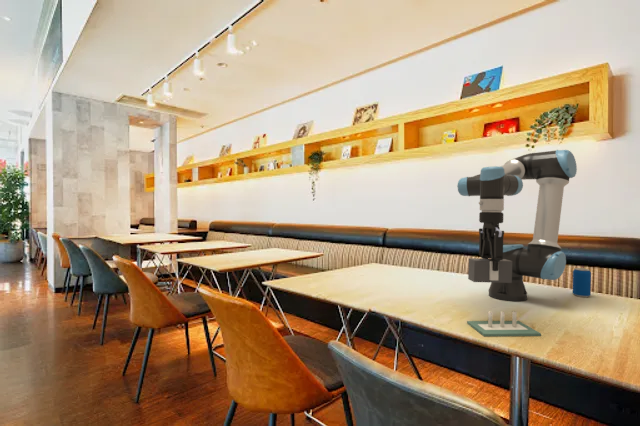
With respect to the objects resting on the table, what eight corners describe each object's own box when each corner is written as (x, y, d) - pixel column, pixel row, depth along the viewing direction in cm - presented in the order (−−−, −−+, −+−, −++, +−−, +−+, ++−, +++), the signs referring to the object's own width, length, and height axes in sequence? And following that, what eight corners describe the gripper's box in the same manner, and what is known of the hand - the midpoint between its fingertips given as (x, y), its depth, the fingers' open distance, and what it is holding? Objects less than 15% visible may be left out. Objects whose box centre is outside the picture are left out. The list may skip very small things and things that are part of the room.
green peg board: (518, 323, 122) (518, 306, 122) (541, 336, 110) (541, 317, 110) (467, 323, 122) (467, 306, 122) (483, 336, 110) (484, 317, 110)
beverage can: (593, 298, 154) (594, 270, 154) (576, 297, 155) (577, 270, 155) (585, 294, 160) (586, 268, 160) (569, 293, 162) (570, 267, 161)
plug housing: (504, 279, 125) (505, 259, 125) (511, 282, 120) (512, 261, 120) (468, 279, 125) (468, 258, 125) (474, 282, 121) (474, 260, 120)
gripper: (469, 211, 131) (468, 273, 132) (492, 211, 113) (491, 284, 114) (489, 211, 131) (488, 273, 132) (516, 212, 113) (514, 284, 114)
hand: (489, 278), depth 123 cm, fingers closed on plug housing, 5 cm apart
